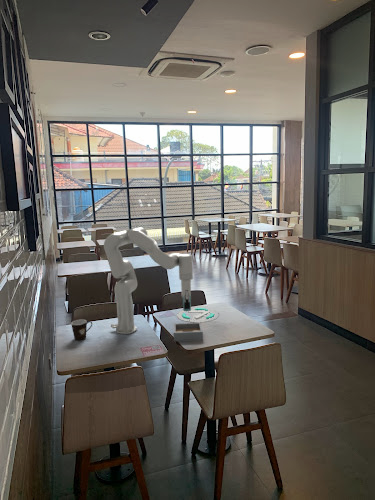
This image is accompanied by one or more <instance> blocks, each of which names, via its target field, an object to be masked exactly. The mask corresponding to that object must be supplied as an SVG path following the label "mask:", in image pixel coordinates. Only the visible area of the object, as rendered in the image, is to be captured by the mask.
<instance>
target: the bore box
mask: <svg viewBox="0 0 375 500" xmlns="http://www.w3.org/2000/svg"><path fill="white" fill-rule="evenodd" d="M203 336H204V334H203V327H202V323H201V322H200V323H193V322H185V323H184V322H183V323H180V322H179V323H173V341H174V342H191V341H192V342H193V341H203V339H204V337H203Z"/></svg>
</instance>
